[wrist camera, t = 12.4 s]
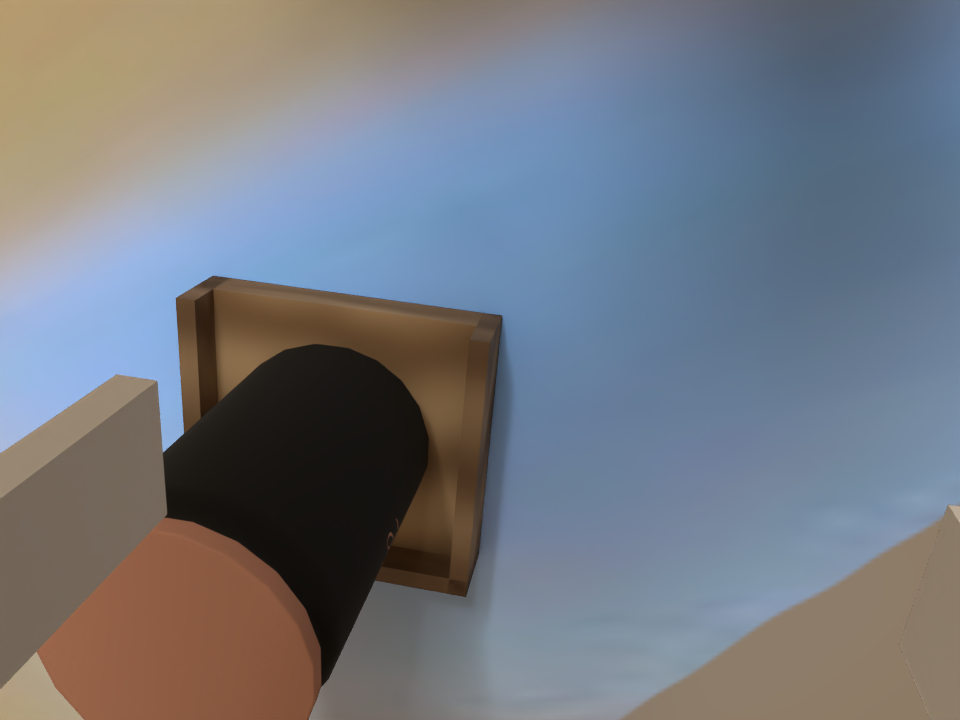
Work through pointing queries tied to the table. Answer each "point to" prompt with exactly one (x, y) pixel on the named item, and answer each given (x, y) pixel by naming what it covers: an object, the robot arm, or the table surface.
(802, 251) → the table surface
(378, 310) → the brown shallow square tray
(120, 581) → the coffee jar
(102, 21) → the table surface
